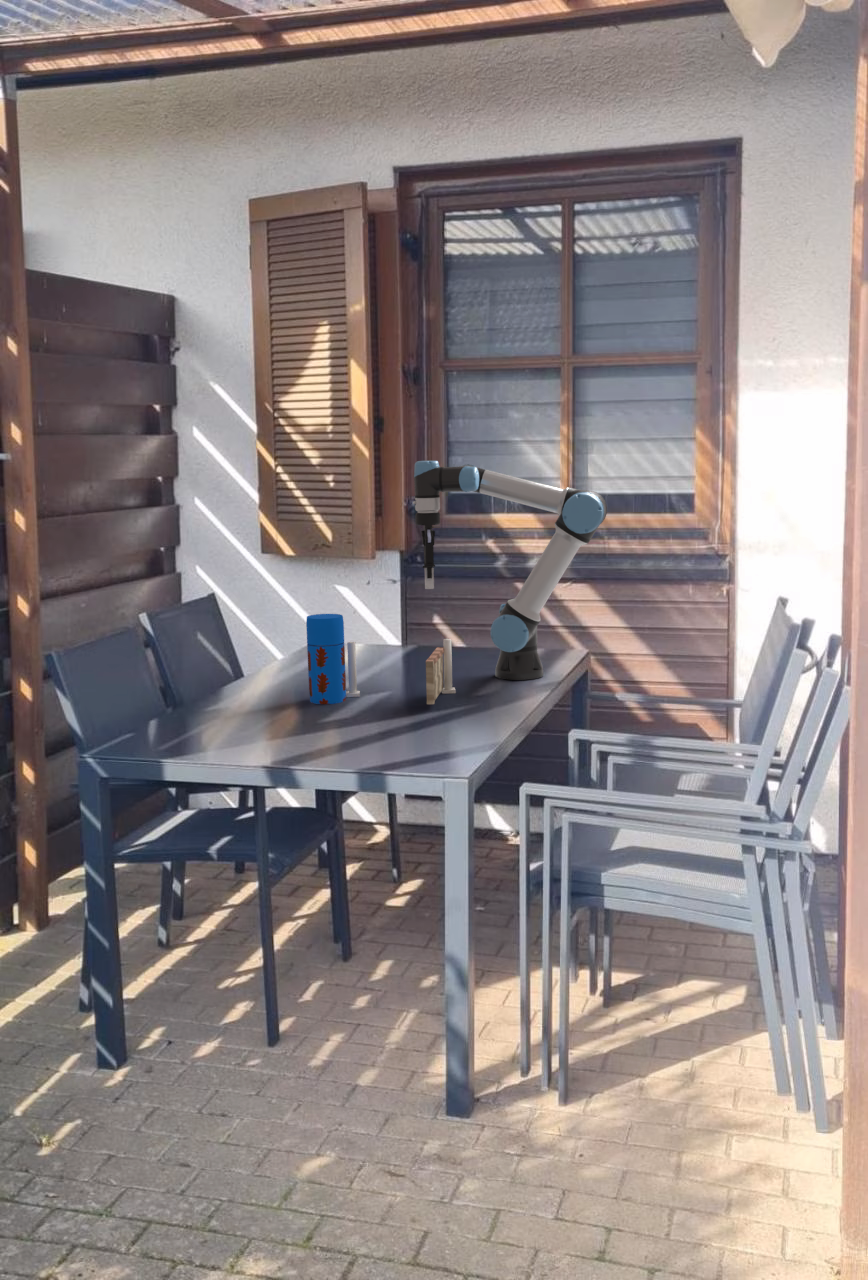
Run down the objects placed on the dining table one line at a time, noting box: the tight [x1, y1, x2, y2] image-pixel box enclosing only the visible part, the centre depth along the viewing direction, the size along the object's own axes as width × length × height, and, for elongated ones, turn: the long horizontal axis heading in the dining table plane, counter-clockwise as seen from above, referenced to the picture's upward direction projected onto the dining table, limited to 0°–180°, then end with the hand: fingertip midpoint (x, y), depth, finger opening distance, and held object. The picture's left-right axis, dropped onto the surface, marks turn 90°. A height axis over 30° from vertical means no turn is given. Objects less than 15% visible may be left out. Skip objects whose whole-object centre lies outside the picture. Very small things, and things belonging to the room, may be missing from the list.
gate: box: [425, 646, 444, 705], centre depth 399 cm, size 24×2×12 cm, turn 172°
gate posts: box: [346, 638, 457, 698], centre depth 411 cm, size 32×4×16 cm, turn 93°
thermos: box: [305, 613, 347, 705], centre depth 403 cm, size 11×11×25 cm
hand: (429, 588), depth 424 cm, fingers closed
